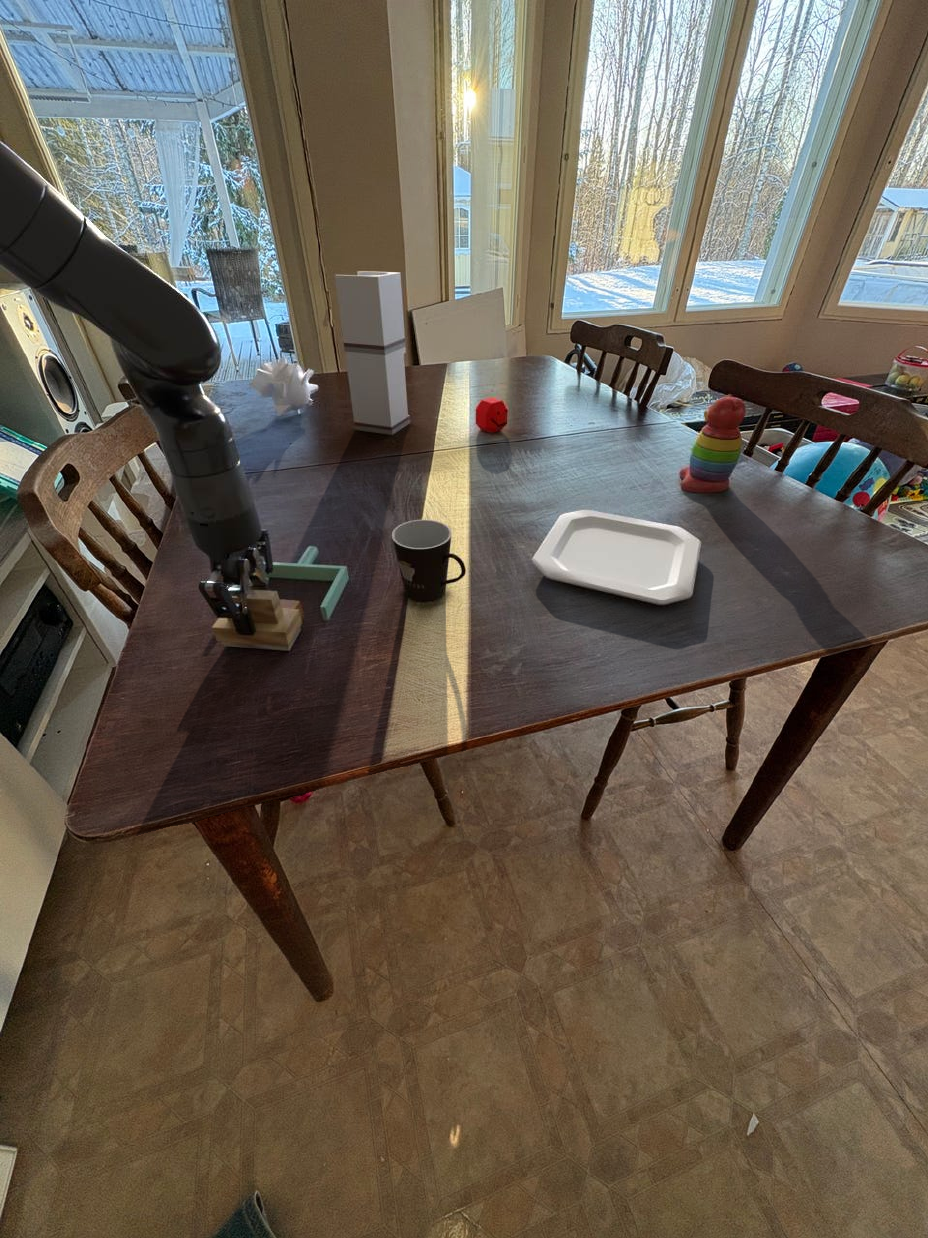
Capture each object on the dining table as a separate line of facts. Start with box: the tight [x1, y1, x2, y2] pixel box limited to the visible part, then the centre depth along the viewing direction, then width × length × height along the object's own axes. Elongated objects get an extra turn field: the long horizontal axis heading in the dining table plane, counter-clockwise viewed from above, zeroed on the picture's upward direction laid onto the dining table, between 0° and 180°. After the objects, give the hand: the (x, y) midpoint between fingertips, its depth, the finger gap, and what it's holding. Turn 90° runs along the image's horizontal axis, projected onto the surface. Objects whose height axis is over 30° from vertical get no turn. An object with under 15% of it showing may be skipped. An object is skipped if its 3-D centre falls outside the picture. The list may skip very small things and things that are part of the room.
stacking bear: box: [678, 393, 747, 494], centre depth 105 cm, size 11×10×18 cm
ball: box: [475, 397, 509, 434], centre depth 136 cm, size 8×8×8 cm
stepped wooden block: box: [211, 589, 303, 652], centre depth 68 cm, size 10×5×8 cm, turn 84°
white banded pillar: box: [334, 270, 411, 436], centre depth 130 cm, size 11×11×35 cm
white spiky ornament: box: [249, 355, 319, 417], centre depth 147 cm, size 20×17×15 cm
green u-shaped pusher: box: [230, 545, 350, 621], centre depth 80 cm, size 17×16×2 cm
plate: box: [531, 509, 702, 606], centre depth 86 cm, size 25×25×2 cm
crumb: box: [279, 599, 305, 621], centre depth 73 cm, size 3×3×3 cm
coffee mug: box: [391, 519, 467, 603], centre depth 76 cm, size 12×9×10 cm
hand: (256, 619), depth 68 cm, fingers closed on stepped wooden block, 5 cm apart
